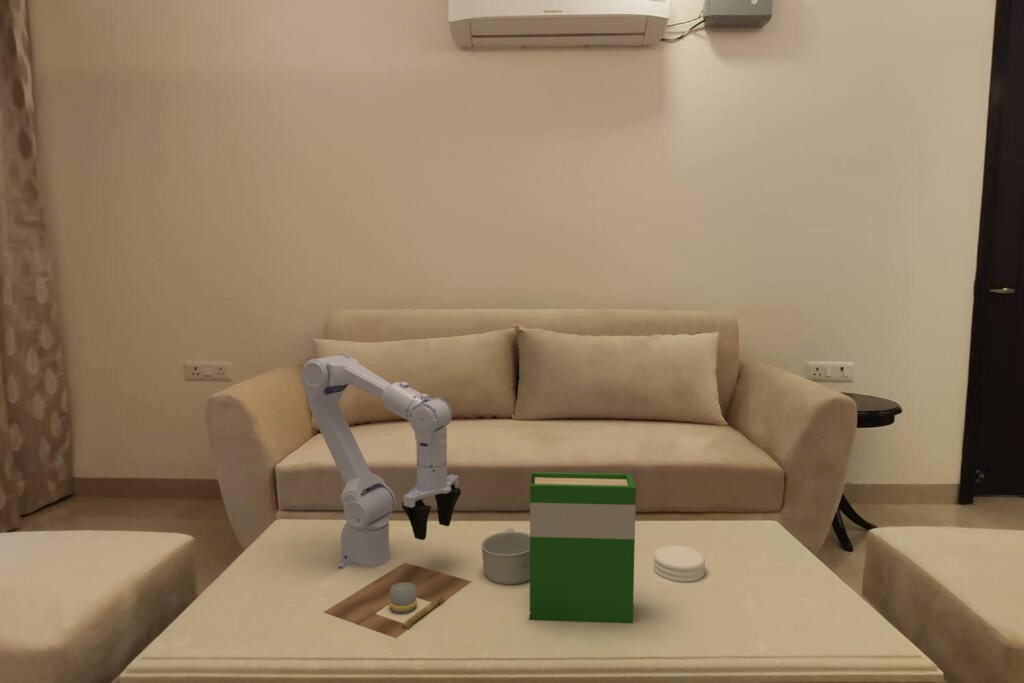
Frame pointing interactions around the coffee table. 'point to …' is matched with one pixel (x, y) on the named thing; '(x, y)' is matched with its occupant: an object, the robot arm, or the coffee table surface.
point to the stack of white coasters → (679, 563)
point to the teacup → (507, 557)
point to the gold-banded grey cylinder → (402, 598)
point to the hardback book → (582, 547)
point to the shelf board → (378, 595)
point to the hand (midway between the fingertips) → (432, 531)
